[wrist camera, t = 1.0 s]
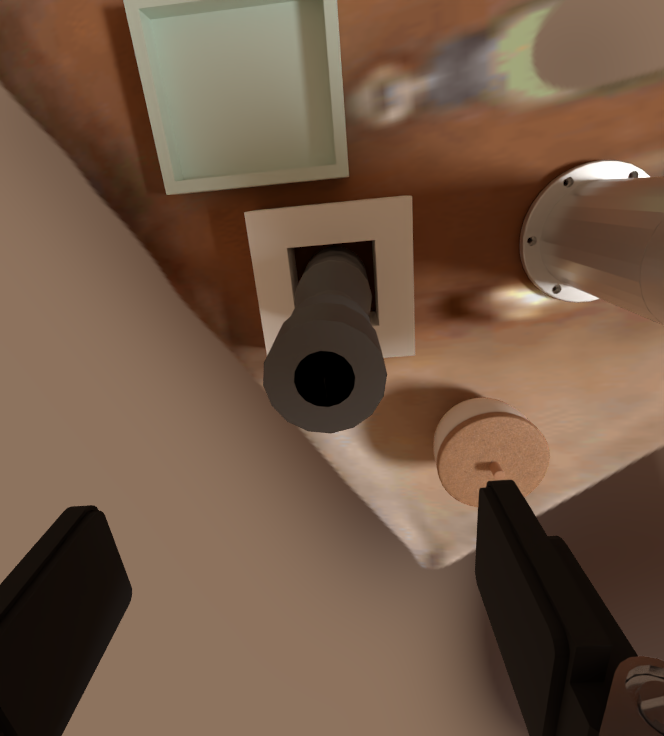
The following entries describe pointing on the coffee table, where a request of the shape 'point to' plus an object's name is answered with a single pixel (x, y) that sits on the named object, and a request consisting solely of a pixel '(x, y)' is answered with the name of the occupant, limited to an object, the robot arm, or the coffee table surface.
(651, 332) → the coffee table surface
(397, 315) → the socket block
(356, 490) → the coffee table surface
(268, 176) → the parts tray
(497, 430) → the lidded jar
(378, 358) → the candle holder
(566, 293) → the robot arm
